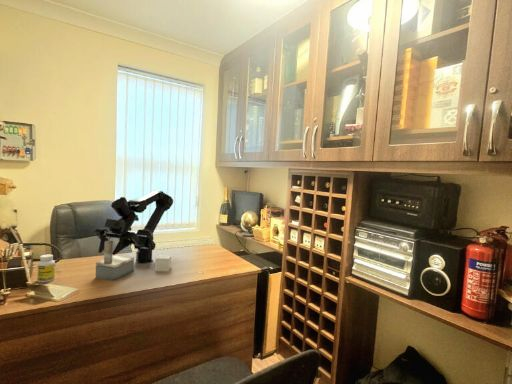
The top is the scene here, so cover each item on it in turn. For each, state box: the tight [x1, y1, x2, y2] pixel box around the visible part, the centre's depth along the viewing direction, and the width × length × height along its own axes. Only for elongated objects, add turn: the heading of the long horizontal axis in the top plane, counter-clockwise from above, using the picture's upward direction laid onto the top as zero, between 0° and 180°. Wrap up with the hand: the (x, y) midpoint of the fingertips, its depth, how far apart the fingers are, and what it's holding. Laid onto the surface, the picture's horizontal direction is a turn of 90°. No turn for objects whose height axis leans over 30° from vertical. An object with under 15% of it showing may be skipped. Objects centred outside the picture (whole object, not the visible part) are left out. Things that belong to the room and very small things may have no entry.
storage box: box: [95, 259, 135, 281], centre depth 119 cm, size 12×9×5 cm
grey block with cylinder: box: [95, 240, 135, 268], centre depth 119 cm, size 12×9×10 cm
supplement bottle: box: [36, 253, 56, 283], centre depth 109 cm, size 5×5×10 cm
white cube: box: [154, 254, 172, 272], centre depth 129 cm, size 6×6×6 cm
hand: (106, 253), depth 113 cm, fingers open, 6 cm apart
